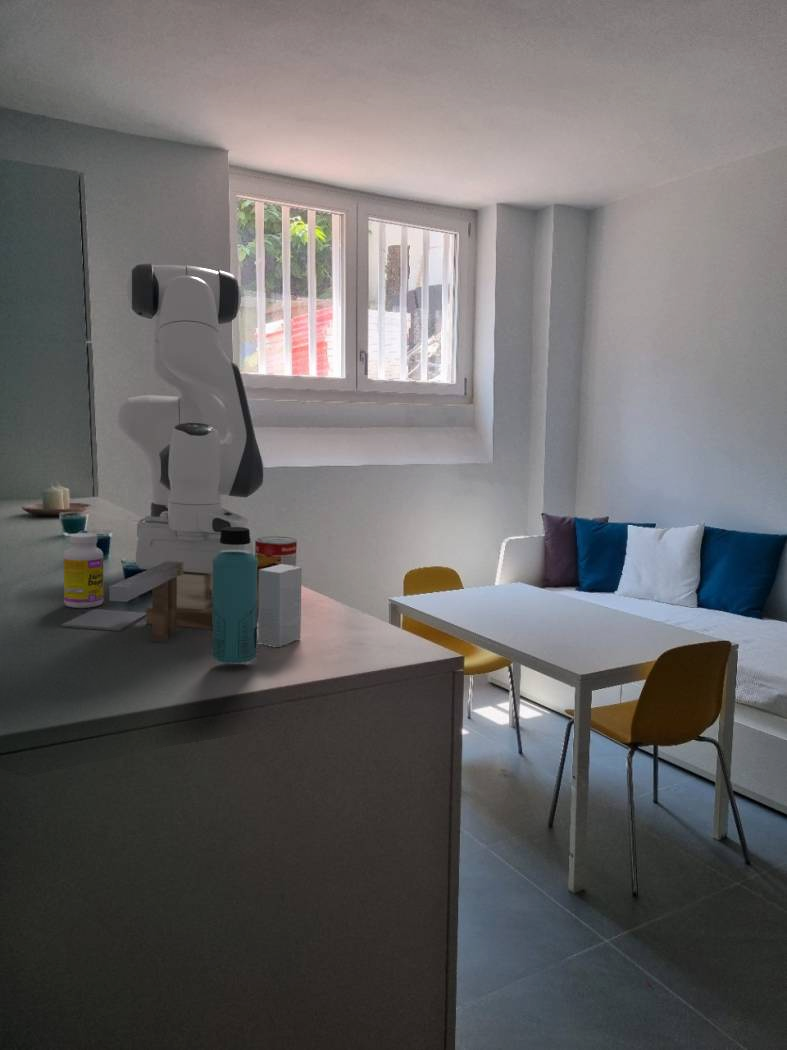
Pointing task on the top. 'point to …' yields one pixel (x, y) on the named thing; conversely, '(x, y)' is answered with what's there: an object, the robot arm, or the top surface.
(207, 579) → the birch block
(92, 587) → the supplement bottle
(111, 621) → the mat
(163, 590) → the holder
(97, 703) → the top surface
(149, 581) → the grey sliding bar
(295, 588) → the skincare box
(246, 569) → the beverage bottle
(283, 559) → the canned food
